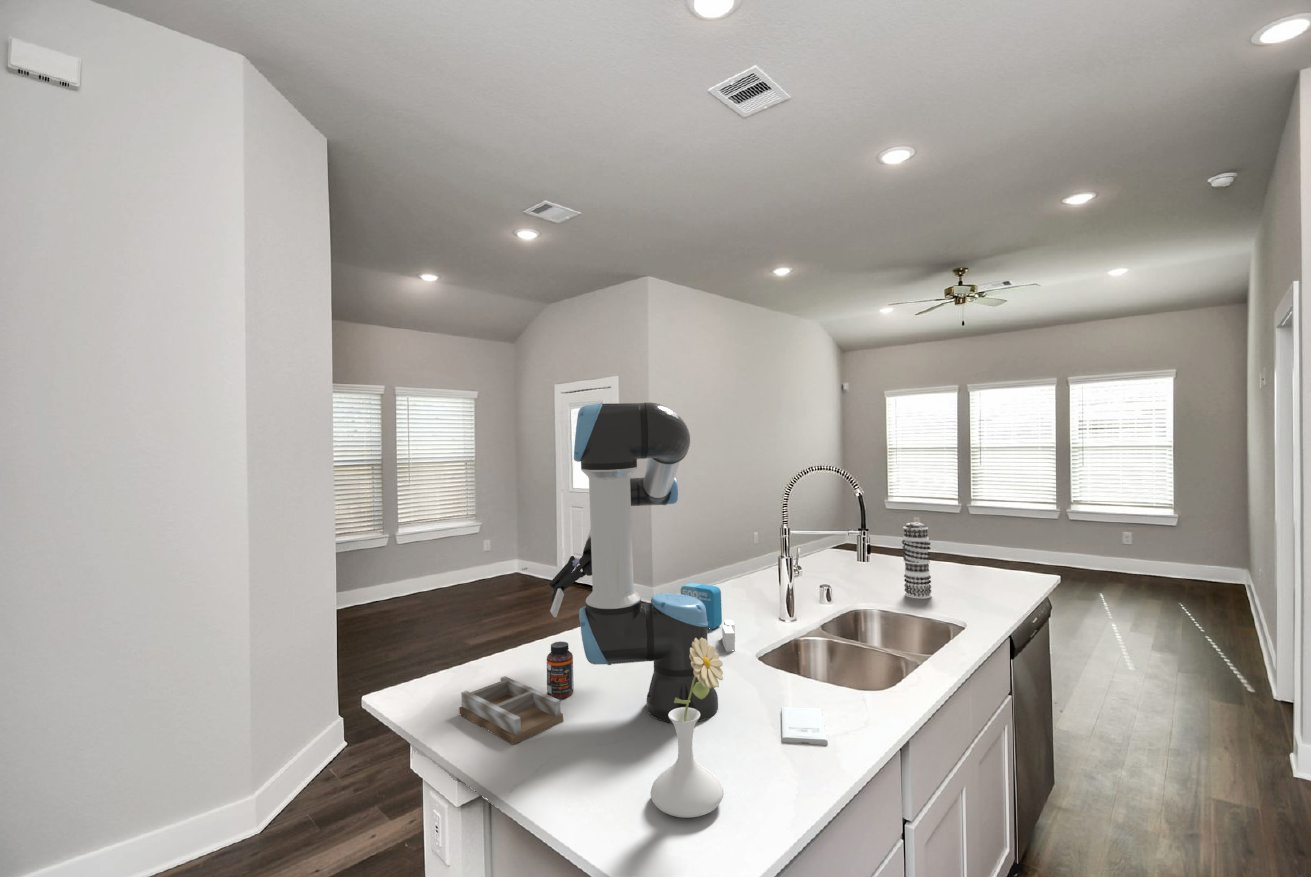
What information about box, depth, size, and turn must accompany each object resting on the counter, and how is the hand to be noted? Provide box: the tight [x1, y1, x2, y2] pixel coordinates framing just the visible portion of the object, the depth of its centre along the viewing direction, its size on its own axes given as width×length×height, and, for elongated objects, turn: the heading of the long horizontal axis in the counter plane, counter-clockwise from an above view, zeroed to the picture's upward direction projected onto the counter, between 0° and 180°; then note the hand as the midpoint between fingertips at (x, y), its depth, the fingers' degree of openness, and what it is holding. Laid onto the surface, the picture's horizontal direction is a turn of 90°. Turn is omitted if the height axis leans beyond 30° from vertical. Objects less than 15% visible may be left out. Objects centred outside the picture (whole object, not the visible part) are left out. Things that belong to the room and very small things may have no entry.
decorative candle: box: [901, 521, 932, 600], centre depth 205 cm, size 9×9×25 cm
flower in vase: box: [650, 638, 725, 819], centre depth 93 cm, size 13×11×25 cm
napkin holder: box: [721, 619, 736, 652], centre depth 163 cm, size 15×11×6 cm
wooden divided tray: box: [458, 676, 564, 745], centre depth 123 cm, size 20×12×4 cm, turn 47°
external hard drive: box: [781, 706, 829, 746], centre depth 115 cm, size 2×8×12 cm
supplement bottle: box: [546, 640, 574, 699], centre depth 134 cm, size 6×6×11 cm
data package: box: [680, 582, 723, 630], centre depth 180 cm, size 12×4×12 cm, turn 53°
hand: (578, 616), depth 144 cm, fingers open, 13 cm apart
